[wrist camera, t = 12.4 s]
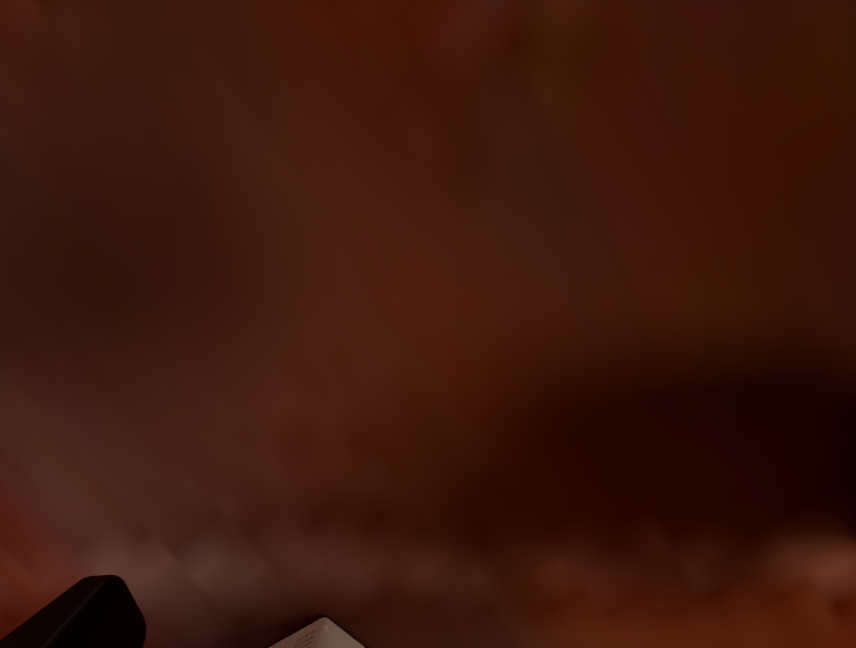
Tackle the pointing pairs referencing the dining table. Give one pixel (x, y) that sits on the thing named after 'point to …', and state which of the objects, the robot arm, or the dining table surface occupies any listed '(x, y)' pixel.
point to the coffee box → (319, 637)
